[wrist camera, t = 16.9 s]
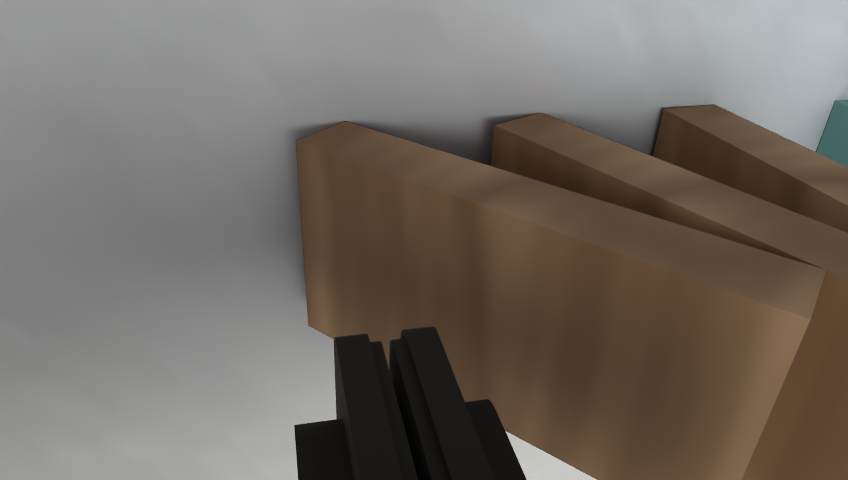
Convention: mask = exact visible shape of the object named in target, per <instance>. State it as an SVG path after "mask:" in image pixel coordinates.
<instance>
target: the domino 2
mask: <svg viewBox="0 0 848 480" xmlns="http://www.w3.org/2000/svg"><path fill="white" fill-rule="evenodd" d="M491 166H492V167H495V168H498V169H502V170H505V171H508V172H511V173H515V174H518V175H521V176H524V177H527V178H531V179H534V180H537V181H540V182H544V183H547V184H550V185H553V186H557V187H560V188H563V189H566V190H569V191H573V192H576V193H579V194H582V195H586V196H589V197H592V198H595V199H598V200H602V201H605V202H608V203H611V204H615V205H618V206H621V207H624V208H628V209H631V210H634V211H637V212H640V213H644V214H647V215H650V216H653V217H657V218H660V219H663V220H666V221H670V222H673V223H676V224H679V225H682V226H686V227H689V228H692V229H695V230H699V231H702V232H705V233H708V234H712V235H715V236H718V237H721V238H724V239H728V240H731V241H734V242H737V243H741V244H744V245H747V246H750V247H753V248H757V249H760V250H763V251H766V252H770V253H773V254H776V255H779V256H783V257H786V258H789V259H792V260H795V261H799V262H802V263H805V264H808V265H812V266H815V267H818V268H821V269H825V270H826V273H825V276H824V279H823V282H822V285H821V288H820V292H819V295H818V298H817V301H816V304H815V307H814V310H813V314H812V317H811V320H810V322H809V324H808V327H807V329H806V331H805V334H804V336H803V338H802V341H801V343H800V345H799V348H798V350H797V352H796V354H795V357H794V359H793V361H792V364H791V366H790V368H789V371H788V373H787V375H786V378H785V380H784V382H783V385H782V387H781V389H780V392H779V394H778V396H777V398H776V401H775V403H774V405H773V408H772V410H771V412H770V415H769V417H768V419H767V422H766V424H765V426H764V429H763V431H762V433H761V436H760V438H759V440H758V442H757V445H756V447H755V449H754V452H753V454H752V456H751V459H750V461H749V463H748V466H747V468H746V470H745V473H744V475H743V477H742V480H848V233H846V232H844V231H841V230H839V229H836V228H834V227H831V226H829V225H826V224H823V223H821V222H818V221H816V220H813V219H811V218H808V217H806V216H803V215H800V214H798V213H795V212H793V211H790V210H788V209H785V208H783V207H780V206H778V205H775V204H772V203H770V202H767V201H765V200H762V199H760V198H757V197H755V196H752V195H750V194H747V193H744V192H742V191H739V190H737V189H734V188H732V187H729V186H727V185H724V184H721V183H719V182H716V181H714V180H711V179H709V178H706V177H704V176H701V175H699V174H696V173H693V172H691V171H688V170H686V169H683V168H681V167H678V166H676V165H673V164H670V163H668V162H665V161H663V160H660V159H658V158H655V157H653V156H650V155H648V154H645V153H642V152H640V151H637V150H635V149H632V148H630V147H627V146H625V145H622V144H620V143H617V142H614V141H612V140H609V139H607V138H604V137H602V136H599V135H597V134H594V133H591V132H589V131H586V130H584V129H581V128H579V127H576V126H574V125H571V124H569V123H566V122H563V121H561V120H558V119H556V118H553V117H551V116H548V115H546V114H543V113H539V114H535V115H531V116H527V117H523V118H519V119H516V120H512V121H508V122H504V123H500V124H496V125H495V127H494V136H493V146H492V156H491Z"/></svg>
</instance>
